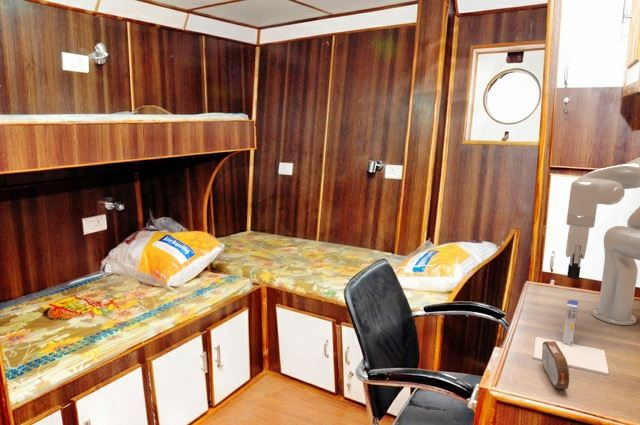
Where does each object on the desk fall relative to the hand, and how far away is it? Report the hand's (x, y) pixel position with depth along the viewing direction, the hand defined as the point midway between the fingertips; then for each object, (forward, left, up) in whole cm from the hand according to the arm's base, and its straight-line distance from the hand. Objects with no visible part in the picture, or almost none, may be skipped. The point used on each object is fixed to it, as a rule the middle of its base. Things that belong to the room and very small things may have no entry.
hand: (572, 277), depth 143 cm
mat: (+19, 0, -17) cm, 26 cm away
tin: (+35, -4, -18) cm, 39 cm away
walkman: (+10, 0, -17) cm, 20 cm away
